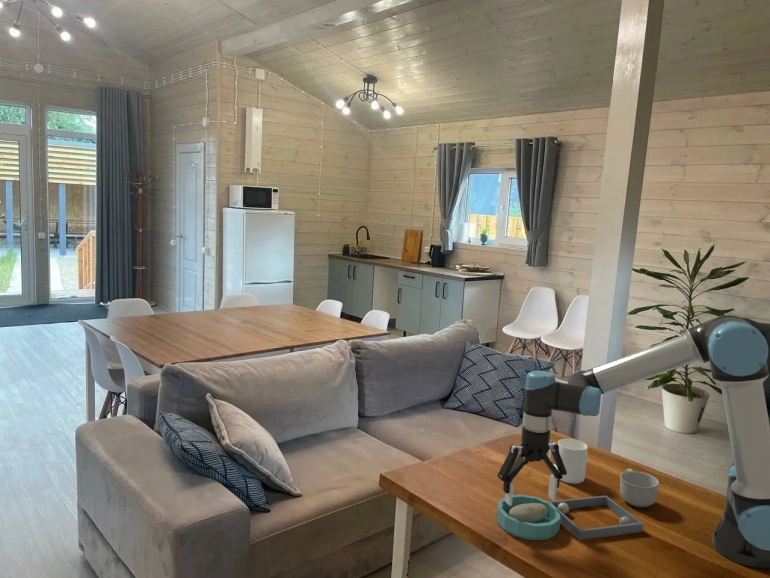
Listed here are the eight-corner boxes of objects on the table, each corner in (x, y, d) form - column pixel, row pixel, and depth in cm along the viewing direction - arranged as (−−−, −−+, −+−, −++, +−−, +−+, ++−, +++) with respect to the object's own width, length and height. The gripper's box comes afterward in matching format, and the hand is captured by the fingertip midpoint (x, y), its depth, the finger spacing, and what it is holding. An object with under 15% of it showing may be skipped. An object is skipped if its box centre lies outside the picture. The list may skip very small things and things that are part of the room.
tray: (642, 531, 163) (643, 523, 163) (579, 540, 158) (580, 531, 157) (605, 503, 179) (606, 495, 178) (546, 509, 173) (547, 501, 173)
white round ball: (570, 515, 170) (571, 505, 170) (561, 516, 169) (562, 506, 169) (564, 510, 173) (565, 500, 173) (554, 511, 172) (555, 501, 172)
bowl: (570, 537, 159) (572, 522, 158) (515, 544, 154) (516, 528, 153) (538, 506, 175) (539, 492, 174) (486, 511, 170) (487, 497, 169)
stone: (555, 513, 164) (527, 511, 157) (543, 530, 166) (514, 529, 159) (542, 498, 169) (514, 495, 162) (530, 514, 170) (502, 513, 164)
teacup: (659, 514, 174) (663, 488, 173) (621, 508, 176) (624, 483, 175) (648, 492, 187) (651, 468, 186) (613, 487, 190) (615, 464, 188)
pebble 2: (633, 530, 164) (634, 519, 164) (623, 531, 163) (624, 520, 163) (625, 524, 167) (626, 513, 167) (616, 525, 166) (617, 514, 166)
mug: (586, 486, 189) (589, 452, 188) (547, 480, 192) (550, 446, 190) (583, 474, 198) (586, 440, 197) (546, 468, 201) (549, 436, 199)
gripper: (568, 420, 168) (561, 490, 170) (488, 425, 161) (483, 498, 163) (584, 429, 160) (577, 503, 163) (501, 436, 153) (495, 512, 156)
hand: (530, 501), depth 163 cm, fingers open, 13 cm apart
